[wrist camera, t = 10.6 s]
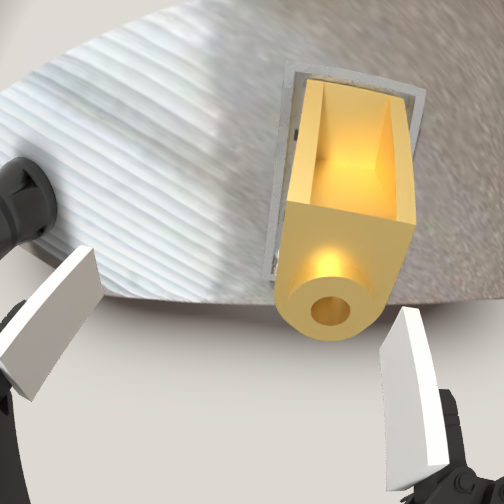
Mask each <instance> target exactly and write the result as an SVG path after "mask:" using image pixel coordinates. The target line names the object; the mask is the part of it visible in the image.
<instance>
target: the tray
mask: <svg viewBox="0 0 504 504" xmlns="http://www.w3.org/2000/svg"><path fill="white" fill-rule="evenodd" d="M308 78H310V79H317V80H323V81H329V82H335V83H341V84H346V85H351V86H356V87H361V88H366V89H370V90H375V91H379V92H383V93H387V94H391V95H395V96H398V97H400V98H403V99H404V103H405V109H406V115H407V122H408V129H409V137H410V145H411V153H412V159H413V154H414V150H415V146H416V142H417V137H418V132H419V128H420V123H421V118H422V113H423V108H424V102H425V97H426V91H427V90H426V89H423V88H419V87H416V86H412V85H409V84H405V83H402V82H398V81H394V80H390V79H386V78H382V77H378V76H374V75H370V74H365V73H360V72H356V71H351V70H345V69H340V68H334V67H329V66H322V65H316V64H309V63H302V62H293V61H285V70H284V80H283V90H282V100H281V110H280V120H279V130H278V139H277V149H276V158H275V168H274V177H273V186H272V195H271V204H270V213H269V222H268V231H267V240H266V248H265V257H264V265H263V274H262V279H265V280H270V281H275V279H276V272H277V266H278V259H279V252H280V245H281V238H282V231H283V223H284V216H285V209H286V201H287V195H288V190H289V184H290V179H291V173H292V168H293V162H294V156H295V150H296V145H297V139H298V133H299V127H300V121H301V115H302V109H303V103H304V97H305V91H306V84H307V79H308Z"/></svg>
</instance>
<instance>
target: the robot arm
mask: <svg viewBox="0 0 504 504" xmlns="http://www.w3.org/2000/svg"><path fill="white" fill-rule="evenodd" d="M56 212H57V211H56V201H55V196H54V193H53V190H52V187H51V185H50V183H49V181H48V179H47V177H46V176H45V174H44V173H43V171H42V170H41V169H40V168H39V167H38V166H37V165H36V164H35V163H34V162H33V161H31V160H29V159H27V158H24V157H18V158H15V159H13V160H11V161H9V162H8V163H6V164H5V165H4V166H3V167H2V168H1V169H0V260H1V259H2V258H3V257H4V256H5V255H6V254H8V253H9V252H10V251H11V250H12V249H13V248H14V247H15V246H17V245H20V244H23V243H26V242H29V241H32V240H35V239H38V238H40V237H42V236H43V235H45V234H46V233H47V232H48V231H49V230H50V229H51V228H52V227H53V225H54V223H55V220H56ZM103 296H104V293H103V289H102V285H101V281H100V277H99V272H98V268H97V264H96V259H95V255H94V250H93V248H91V247H87V246H82V245H80V246H79V247H78V248H77V249H76V250H75V251H74V252H73V253H72V254H71V255H70V256H69V257H68V258H67V259H66V260H65V261H64V262H63V263H62V264H61V265H60V266H59V267H58V268H57V269H56V270H55V271H54V272H53V273H52V274H51V276H49V277H48V278H47V280H46V281H45V282H44V283H43V284H42V285H41V286H40V287H39V288H38V290H37V291H36V292H35V293H34V294H33V295H32V296H31V297H30V298H29V300H28V301H26V300H23V301H22V302H20V303H18V304H17V305H15V306H14V307H13V309H12V310H11V311H10V312H9V313H8V314H7V317H5V318H4V319H3V320H2V323H0V504H31V503H30V499H29V495H28V492H27V487H26V484H25V479H24V475H23V470H22V465H21V460H20V455H19V449H18V443H17V436H16V429H15V421H14V412H13V401H12V394H11V391H10V389H11V387H12V386H13V388H14V389H15V390H16V391H17V392H18V394H19V395H21V396H23V397H24V398H26V399H28V400H29V401H31V402H32V400H33V399H34V397H35V395H36V394H37V392H38V391H39V389H40V387H41V386H42V384H43V383H44V381H45V379H46V378H47V376H48V375H49V373H50V372H51V370H52V369H53V367H54V365H55V364H56V362H57V361H58V359H59V358H60V356H61V355H62V353H63V352H64V350H65V349H66V348H67V346H68V345H69V343H70V342H71V340H72V339H73V337H74V336H75V334H76V333H77V332H78V330H79V329H80V327H81V326H82V324H83V323H84V322H85V320H86V319H87V317H88V316H89V315H90V313H91V312H92V311H93V309H94V308H95V306H96V305H97V304H98V302H99V301H100V300H101V298H102V297H103ZM379 357H380V367H381V377H382V387H383V388H382V389H383V401H384V416H385V438H386V491H404V490H407V489H409V488H411V487H412V486H414V493H412V494H410V495H408V496H406V497H404V498H403V499H402V500H401V501H400V502H401V503H402V502H404V501H406V502H405V503H404V504H504V477H502V478H500V479H498V480H496V481H493V480H488V479H484V478H479V477H477V476H476V473H475V472H474V471H473V470H472V469H471V468H469V467H468V466H467V464H466V459H465V451H464V444H463V438H462V432H461V426H460V420H459V416H458V410H457V405H456V401H455V399H454V397H453V396H452V394H451V392H450V390H449V389H447V390H446V389H438V385H437V381H436V375H435V372H434V366H433V362H432V358H431V354H430V349H429V346H428V341H427V337H426V334H425V330H424V326H423V323H422V319H421V316H420V312H419V309H415V308H409V307H402V309H401V310H400V312H399V314H398V316H397V318H396V320H395V322H394V324H393V326H392V328H391V329H390V332H389V333H388V335H387V337H386V339H385V340H384V342H383V344H382V346H381V347H380V349H379Z"/></svg>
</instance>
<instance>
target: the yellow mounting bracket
mask: <svg viewBox="0 0 504 504" xmlns="http://www.w3.org/2000/svg"><path fill="white" fill-rule="evenodd" d="M415 227H416V204H415V187H414V174H413V163H412V153H411V145H410V137H409V129H408V122H407V115H406V109H405V103H404V99H403V98H400V97H398V96H395V95H391V94H387V93H383V92H379V91H375V90H370V89H366V88H361V87H356V86H351V85H346V84H341V83H335V82H329V81H323V80H317V79H310V78H308V79H307V84H306V91H305V97H304V103H303V109H302V115H301V121H300V127H299V133H298V139H297V145H296V150H295V156H294V162H293V168H292V173H291V179H290V184H289V190H288V195H287V201H286V209H285V216H284V223H283V231H282V238H281V245H280V252H279V259H278V266H277V272H276V279H275V286H274V301H275V305H276V307H277V310H278V311H279V313H280V315H281V316H282V317H283V318H284V319H285V321H287V322H288V323H289V324H290V325H291V326H293V327H294V328H296V329H297V330H298V331H299V332H300V333H302V334H303V335H305V336H308V337H310V338H313V339H316V340H321V341H338V340H344V339H348V338H350V337H353V336H355V335H357V334H358V333H360V332H361V331H362V330H364V329H365V328H366V327H368V326H369V325H370V324H372V323H373V322H374V321H375V320H376V319H377V318H378V317H379V316H380V314H381V313H382V311H383V309H384V307H385V305H386V303H387V300H388V298H389V296H390V293H391V291H392V288H393V286H394V284H395V281H396V279H397V276H398V274H399V271H400V268H401V266H402V263H403V261H404V258H405V255H406V253H407V250H408V247H409V244H410V242H411V239H412V236H413V233H414V230H415Z"/></svg>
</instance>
